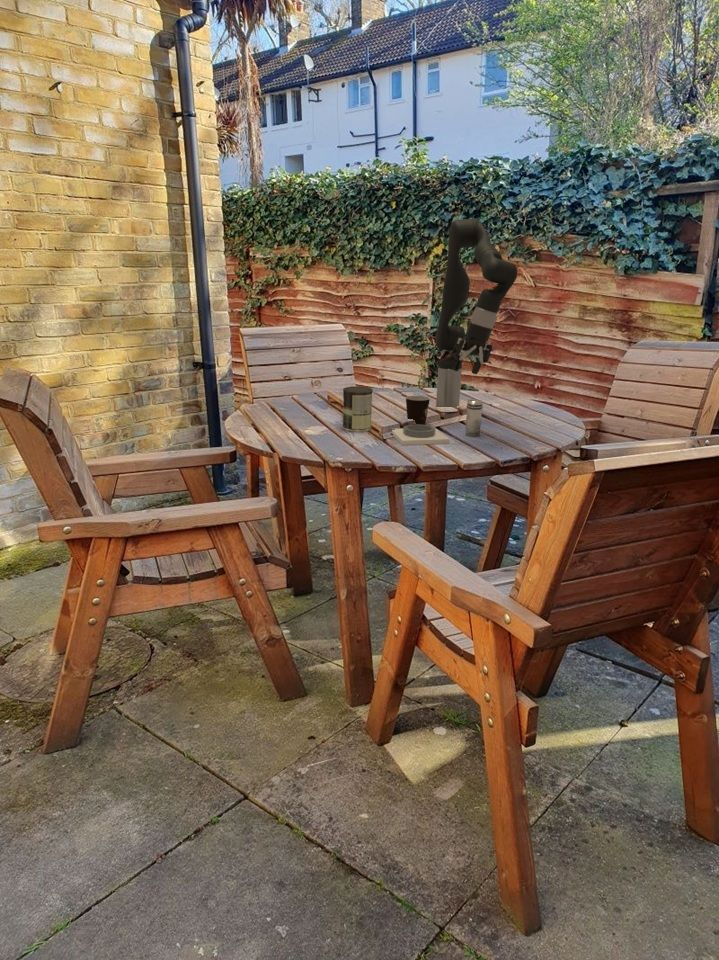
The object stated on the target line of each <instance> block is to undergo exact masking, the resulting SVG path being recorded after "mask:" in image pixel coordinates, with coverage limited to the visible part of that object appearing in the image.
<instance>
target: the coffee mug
mask: <svg viewBox="0 0 719 960" xmlns="http://www.w3.org/2000/svg"><path fill="white" fill-rule="evenodd" d="M430 401H431V398H430V397H429V396H425V395H409V396H408V395H407V396H406V397H405V404H406V419H407V418H408V419H413V420H415V422H416V424H420V425H426V424H425V423H427V416H428V413H429V412H428V411H429V405H430Z"/></svg>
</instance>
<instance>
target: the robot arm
mask: <svg viewBox="0 0 719 960" xmlns="http://www.w3.org/2000/svg"><path fill="white" fill-rule="evenodd" d="M448 234H449V235H448V245H447V246H448V247H447V248H448V249H447V263H446V270H445V277H444V281H443V289H442V299H441V306H440V307H441V309H440V315H439V321H438V324H437V328H436V335H435V346H436V348H437V349H438V350H440V351H451V352H450V355H448V356H446V357H443V358H441V359H439V360H438V365H437V383H436V397H435V398H436V399H435V400H436V401H435V402H436V403H435V408H436V407H457V406H459V407H460V400H461V387H462V384H461V383H462V371H463V369H462V368H463V359H464V358H465V357H468V355H471V356H472V355H473V356H474V358H475V359H474V360H475V361H474V363H473V366H472V370H471V373H472V374H474V375H478V373H479V372H480V369H481V366H482V364H483V363H485V364H486V363H488V362H489V358H490V355H491V352H492V349H493V345H492V344H490V343H488V341H489V339H490V336H491V335H492V331H493V329H494V325H495V323H496V320H497V317H498V316H497V315H498V312H499V309H500V307H501V305H502V302H503V299H504V298H505V296H506V295H507V293H508V292H509V290H510V289H511V288H512V286H513V285H514V283H515V282H516V280H517V277H518V266H517V265H516V264H515V263H513V262H512V261H511V262H510V261H508V260H505V259H504V260H503V257H502V254H501V253H500V252H499V250H498V249H497V248H496V247H495V246H494V245H493V244H492V241H491V240H490V236H489V234H488V233H487V230H486V228H485V226H484V224H483V223H482V221H480V220H479V219H477V218H463V219H455V220H453V221H452V222H451V223H450V227H449V233H448ZM465 248H466V249H467V248H469V249H470V248H474V254H473V255H474V259H475V261H476V263H477V264H478V265H479V266H480V268H481V272H482V273H481V274H482V277H483V279H485V280H486V281H488V282H490V283H494V284H496V286H495V287H493V288H492V289H489V288H487V289H483V290H481V292H480V295H479V296H478V300H477V303H476V306H475V307H474V311H473V312H472V315H471V318H470V321H469V324H468V326H467V329H466V331H465V328H464V327H463V326H461V325H460V326H459V325H449V324H450V322H451V320H452V318H453V317H454V316H455V314H456V313H458V311H459V310H461V308H462V307H463V306H464V305H465V303H466V301H468V297H469V291H470V286H471V285H470V284H471V281H470V277H469V275H468V273H467V271H466V269H465V268H464V266H463V264H462V262H461V258H460V251H461V249H465Z"/></svg>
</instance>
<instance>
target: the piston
mask: <svg viewBox="0 0 719 960" xmlns="http://www.w3.org/2000/svg"><path fill="white" fill-rule="evenodd" d="M483 405H484V404H483V400H481V399H473V398H471V399H467V404H466V418H465V419H466V420H465V432H464V435H465V436H467V437H472V438H473V437H474V438H475V437H476V438H477V437H480V436H481V425H482V413H483V411H482V410H483Z"/></svg>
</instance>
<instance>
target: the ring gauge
mask: <svg viewBox="0 0 719 960" xmlns="http://www.w3.org/2000/svg"><path fill="white" fill-rule="evenodd" d="M394 429H395V430H392V434H393V435H392V436H393V438H395V440H396V441H398V443H400V444H401V446H417V445H423V446H424V445H441V444H442V445H443V444H444V445H446V444H448V445H449V444H450V441H451V440H450V438H449V437H448V436H446V434H443V433H442V432H441V431H440V430H438V429H437V428H436V427H434V426H432V425H427V424H425V425H420V424H414V425H408V424H407V425H404V427H403V428H402V427H401V428H394Z"/></svg>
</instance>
